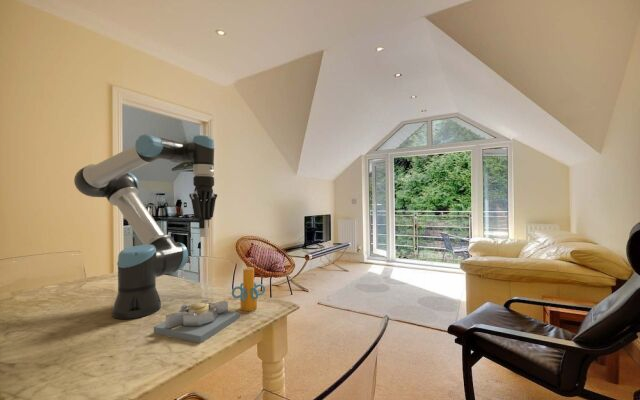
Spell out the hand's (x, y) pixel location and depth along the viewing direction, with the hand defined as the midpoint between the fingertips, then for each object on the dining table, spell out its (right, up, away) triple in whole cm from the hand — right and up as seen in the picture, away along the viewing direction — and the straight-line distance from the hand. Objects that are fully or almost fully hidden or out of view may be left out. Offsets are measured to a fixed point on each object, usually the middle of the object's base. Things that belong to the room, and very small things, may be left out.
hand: (204, 236), depth 113 cm
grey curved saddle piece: (+6, -24, -19) cm, 31 cm away
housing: (+6, -27, -19) cm, 33 cm away
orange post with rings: (+19, -27, -4) cm, 33 cm away
